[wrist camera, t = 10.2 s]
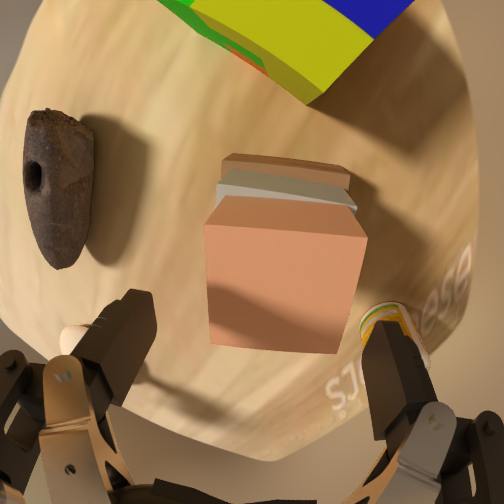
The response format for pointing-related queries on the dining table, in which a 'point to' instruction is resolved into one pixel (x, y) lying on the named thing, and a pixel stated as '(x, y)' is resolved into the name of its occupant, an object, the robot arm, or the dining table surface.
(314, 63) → the puzzle toy
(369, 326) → the supplement bottle
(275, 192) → the tower top
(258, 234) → the clay block
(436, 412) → the robot arm
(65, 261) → the perforated stone tool
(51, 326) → the dining table surface
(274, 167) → the tower base
